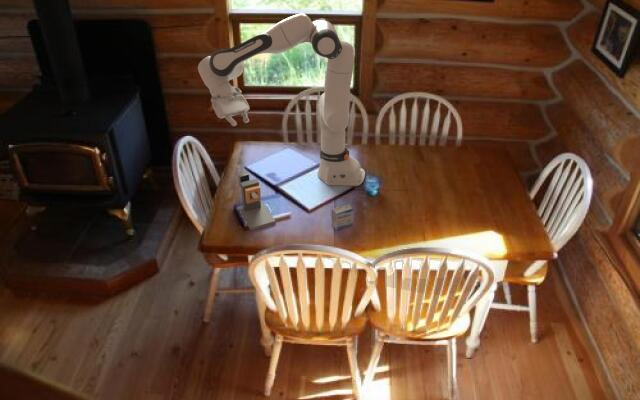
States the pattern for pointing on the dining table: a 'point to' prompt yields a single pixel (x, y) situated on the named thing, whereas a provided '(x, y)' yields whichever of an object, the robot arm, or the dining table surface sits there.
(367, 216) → the dining table surface
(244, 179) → the shaft
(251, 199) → the spacer
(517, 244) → the dining table surface
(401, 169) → the dining table surface
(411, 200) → the dining table surface
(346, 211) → the medicine box
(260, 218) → the bearing stand
